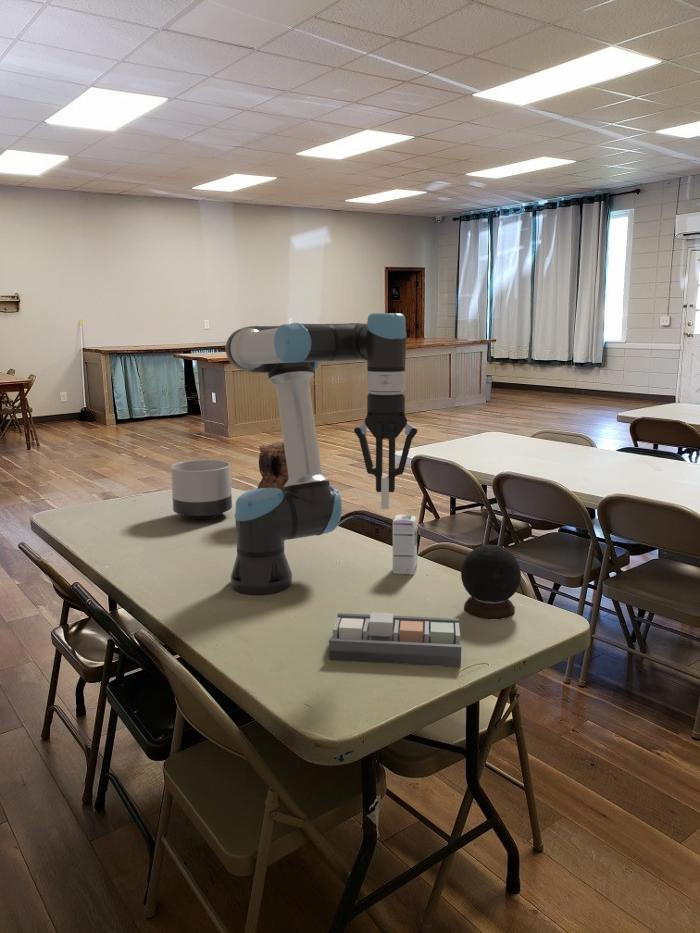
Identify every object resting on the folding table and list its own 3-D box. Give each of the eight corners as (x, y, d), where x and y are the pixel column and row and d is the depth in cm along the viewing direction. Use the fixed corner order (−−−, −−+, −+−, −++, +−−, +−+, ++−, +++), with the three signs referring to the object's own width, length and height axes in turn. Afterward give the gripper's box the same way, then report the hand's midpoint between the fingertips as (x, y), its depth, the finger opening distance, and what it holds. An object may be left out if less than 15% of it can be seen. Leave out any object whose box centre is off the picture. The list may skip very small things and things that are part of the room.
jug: (266, 508, 244) (264, 438, 239) (325, 510, 241) (325, 439, 236) (249, 526, 223) (246, 449, 218) (313, 529, 220) (312, 451, 215)
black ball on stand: (481, 625, 150) (483, 558, 147) (448, 603, 162) (450, 541, 159) (531, 615, 155) (534, 550, 152) (496, 594, 167) (499, 534, 164)
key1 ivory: (339, 638, 139) (338, 627, 138) (341, 629, 143) (341, 618, 143) (361, 639, 138) (361, 628, 138) (363, 630, 143) (363, 619, 142)
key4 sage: (430, 643, 137) (430, 631, 136) (430, 633, 141) (430, 622, 141) (453, 644, 136) (453, 632, 136) (452, 634, 141) (453, 623, 140)
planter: (226, 525, 225) (224, 471, 221) (166, 525, 225) (163, 471, 222) (236, 509, 244) (235, 459, 240) (181, 509, 244) (179, 459, 240)
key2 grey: (369, 633, 138) (369, 621, 137) (371, 623, 142) (371, 612, 142) (392, 634, 137) (392, 622, 137) (393, 624, 142) (393, 613, 141)
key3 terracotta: (399, 641, 137) (399, 630, 137) (400, 631, 142) (400, 620, 141) (422, 642, 137) (422, 631, 136) (422, 632, 141) (423, 621, 141)
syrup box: (414, 575, 180) (415, 521, 177) (391, 573, 181) (392, 519, 178) (417, 567, 185) (417, 515, 182) (394, 566, 186) (395, 513, 183)
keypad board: (329, 659, 135) (329, 638, 134) (338, 630, 147) (338, 611, 146) (460, 666, 132) (461, 645, 131) (458, 636, 145) (458, 616, 144)
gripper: (351, 394, 136) (351, 511, 141) (418, 394, 135) (416, 513, 139) (355, 390, 143) (355, 501, 148) (419, 390, 142) (417, 503, 147)
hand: (385, 507), depth 144 cm, fingers closed
